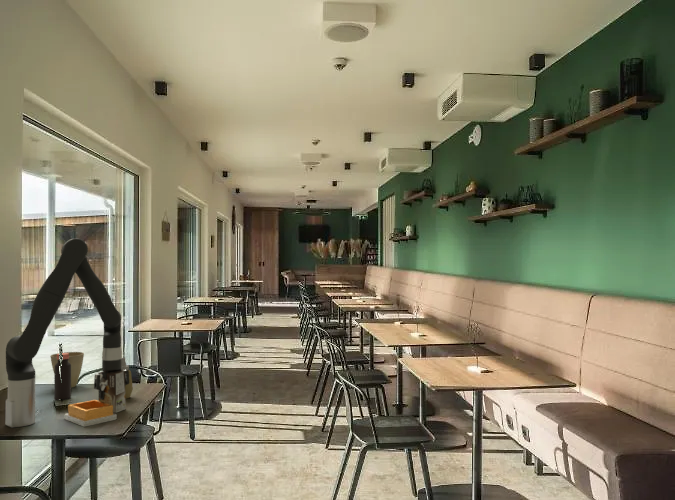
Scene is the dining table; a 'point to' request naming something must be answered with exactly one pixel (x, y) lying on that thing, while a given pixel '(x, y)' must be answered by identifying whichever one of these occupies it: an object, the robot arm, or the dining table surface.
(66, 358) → the vinegar
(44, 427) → the dining table surface
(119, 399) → the coffee box
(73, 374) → the plant pot
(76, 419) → the orange open box
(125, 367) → the squeeze bottle
